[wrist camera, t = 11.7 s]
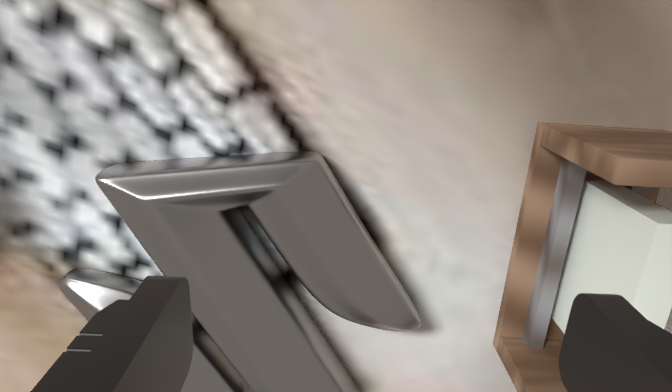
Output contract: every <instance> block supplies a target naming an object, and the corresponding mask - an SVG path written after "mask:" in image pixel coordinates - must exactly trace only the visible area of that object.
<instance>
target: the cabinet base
mask: <svg viewBox="0 0 672 392" xmlns="http://www.w3.org/2000/svg"><path fill="white" fill-rule="evenodd" d="M584 179H586V180H602V181H609V182H611V183H612V184H614V185H622V186H624V187H626V188H628V189H630V190H631V191H633V192H635V193H637V194H639V195H641V196H643V197H645V198H647V199H649V200H651V201H653V202H654V203H655V201H656V198H657V195H658V191H659V188H672V132H670V131H663V130H647V129H631V128H616V127H600V126H585V125H569V124H553V123H538V126H537V131H536V136H535V141H534V146H533V150H532V155H531V160H530V165H529V170H528V175H527V180H526V185H525V190H524V195H523V199H522V204H521V209H520V214H519V219H518V224H517V229H516V234H515V239H514V244H513V248H512V253H511V258H510V263H509V268H508V273H507V278H506V283H505V288H504V293H503V297H502V302H501V307H500V312H499V317H498V322H497V327H496V332H495V337H494V342H493V345H494V347H495V349H496V351H497V353H498V354H499V356H500V358H501V360H502V362H503V364H504V366H505V368H506V370H507V372H508V374H509V376H510V378H511V380H512V382H513V384H514V386H515V388H516V389H517V391H518V392H568V391H567V390H566V388H565V386H564V384H563V382H562V379H561V376H560V371H559V354H560V350H561V346H562V342H563V338H564V333H563V332H562V330H561V329H560V328H559V326H558V325H557V324H556V322H555V321H554V320H553V319H552V317H551V314H552V310H553V305H554V301H555V297H556V293H557V289H558V285H559V281H560V277H561V273H562V269H563V265H564V261H565V257H566V253H567V249H568V244H569V240H570V236H571V232H572V228H573V224H574V220H575V216H576V212H577V208H578V204H579V200H580V196H581V192H582V188H583V183H584Z"/></svg>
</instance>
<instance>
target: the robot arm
mask: <svg viewBox="0 0 672 392" xmlns="http://www.w3.org/2000/svg"><path fill="white" fill-rule="evenodd" d="M192 355H193V329H192V315H191V301H190V288H189V282H188V280H187V278H186V277H170V276H147V277H146V278H145V279H144V280H143V282H142V283H141V284H140V286H139V287H138V288H137V290H136V291H135V292H134V294H133V295H132V296H131V298H130V299H129V300H123V299H118V300H116V301H115V302H113V303H112V304H110V305H108V306H107V307H105V308H104V309H102V310H101V311H99V312H97V313H96V314H95V315H94V316H93V317H92V318H91V319H90V321H89V322H88V323H87V324H86V325H85V327H84V328H83V329H82V330H81V332H80V335H79V336H76V338H75V339H74V340H73V341H72V342H71V344H70V345H69V346H68V347H67V351H66V352H63V353H62V354H61V356H60V357H59V358H58V359H57V361H56V362H55V363H54V364H53V365H52V367H51V368H50V369H49V370H48V371H47V373H46V374H45V375H44V376H43V377H42V379H41V380H40V381H39V382H38V383H37V385H36V386H35V387H34V388H33V390H32V391H31V392H180V391H181V389H182V387H183V384H184V382H185V379H186V377H187V375H188V372H189V369H190V365H191V361H192ZM559 371H560V376H561V379H562V382H563V384H564V386H565V388H566V390H567V391H568V392H672V334H671V333H669V332H667V331H666V330H664V329H662V328H661V327H659V326H657V325H656V324H654V323H652V322H651V321H649V320H647V319H646V318H645V317H644V316H643V315H642V314H641V313H640V312H639V311H638V310H637V309H635V308H634V307H633V306H632V305H631V304H630V303H629V302H628V301H627V300H626V299H625V298H624V297H622V296H621V295H617V294H593V293H580V294H578V295H577V296H576V297H575V298H574V300H573V303H572V307H571V311H570V314H569V318H568V322H567V326H566V330H565V334H564V338H563V342H562V346H561V350H560V354H559Z"/></svg>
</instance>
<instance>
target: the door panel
mask: <svg viewBox="0 0 672 392" xmlns="http://www.w3.org/2000/svg"><path fill="white" fill-rule="evenodd" d="M580 293H593V294H617V295H621V296H622V297H624V298H625V299H626V300H627V301H628V302H629V303H630V304H631V305H632V306H633V307H634V308H635V309H637V310H638V311H639V312H640V313H641V314H642V315H643V316H644V317H645V318H646V319H647V320H649V321H651V322H652V323H654V324H656V325H657V326H659V327H661V328H662V329H664V328H665V325H666V323H667V320H668V317H669V314H670V311H671V308H672V211H670V210H668V209H666V208H664V207H662V206H660V205H658V204H656V203H654V202H653V201H651V200H649V199H647V198H645V197H643V196H641V195H639V194H637V193H635V192H633V191H631V190H630V189H628V188H626V187H624V186H622V185H614V184H612V183H611V182H609V181H602V180H586V179H584V183H583V188H582V192H581V196H580V200H579V204H578V208H577V212H576V216H575V220H574V224H573V228H572V232H571V236H570V240H569V244H568V249H567V253H566V257H565V261H564V265H563V269H562V273H561V277H560V281H559V285H558V289H557V293H556V297H555V301H554V305H553V310H552V314H551V317H552V319H553V320H554V321H555V322H556V324H557V325H558V326H559V328H560V329H561V330H562V332H563V333H564V334H565V330H566V326H567V322H568V318H569V314H570V311H571V307H572V303H573V300H574V298H575V297H576V296H577V295H578V294H580Z"/></svg>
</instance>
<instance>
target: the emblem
mask: <svg viewBox="0 0 672 392" xmlns="http://www.w3.org/2000/svg"><path fill="white" fill-rule="evenodd" d="M95 180H96V182H97V184H98V186H99V187H100V189H101V190H102V192H103V193H104V194H105V196H106V197H107V198H108V200H109V201H110V203H111V204H112V205H113V207H114V208H115V209H116V211H117V212H118V214H119V215H120V216H121V218H122V219H123V220H124V222H125V223H126V224H127V226H128V227H129V229H130V230H131V231H132V233H133V234H134V235H135V237H136V238H137V239H138V241H139V242H140V244H141V245H142V246H143V248H144V249H145V250H146V252H147V253H148V254H149V256H150V257H151V259H152V260H153V261H154V263H155V264H156V265H157V267H158V268H159V269H160V271H161V272H162V273H163V275H164V276H170V277H186V278H187V280H188V282H189V288H190V301H191V315H192V329H193V355H192V361H191V365H190V369H189V372H188V375H187V377H186V379H185V382H184V384H183V387H182V389H181V391H180V392H360V391H359V389H358V387H357V386H356V384H355V383H354V381H353V380H352V378H351V377H350V375H349V374H348V372H347V371H346V369H345V368H344V366H343V365H342V363H341V362H340V360H339V359H338V357H337V356H336V354H335V353H334V351H333V350H332V348H331V347H330V345H329V344H328V342H327V341H326V339H325V338H324V336H323V335H322V333H321V332H320V330H319V329H318V327H317V326H316V324H315V323H314V321H313V320H312V318H311V317H310V315H309V314H308V312H307V311H306V309H305V308H304V306H303V305H302V303H301V302H300V300H299V299H298V297H297V296H296V294H295V293H294V291H293V290H292V288H291V287H290V285H289V284H288V282H287V281H286V279H285V278H284V276H283V275H282V273H281V272H280V270H279V269H278V268H277V266H276V265H275V263H274V262H273V260H272V259H271V257H270V256H269V254H268V253H267V251H266V250H265V248H264V247H263V245H262V244H261V242H260V241H259V239H258V238H257V236H256V235H255V233H254V232H253V230H252V229H251V227H250V226H249V224H248V223H247V222H246V220H245V219H244V217H243V216H242V214H241V213H240V211H239V210H238V207H242V206H247V207H248V208H249V210H250V211H251V213H252V214H253V216H254V217H255V219H256V220H257V222H258V223H259V224H260V226H261V227H262V229H263V230H264V232H265V233H266V235H267V236H268V238H269V239H270V241H271V242H272V243H273V245H274V246H275V248H276V249H277V251H278V252H279V254H280V255H281V256H282V258H283V259H284V261H285V262H286V263H287V265H288V266H289V267H290V269H291V270H292V271H293V273H294V274H295V275H296V277H297V278H298V279H299V280H300V282H301V283H302V284H303V285H304V287H305V288H306V289H307V290H308V291H309V292H310V293H311V295H312V296H313V297H314V298H315V299H316V300H317V301H318V302H319V303H321V304H322V305H323V306H324V307H325V308H327V309H328V310H329V311H331V312H333V313H334V314H336V315H338V316H340V317H342V318H344V319H346V320H349V321H352V322H354V323H358V324H361V325H365V326H369V327H373V328H378V329H384V330H391V331H413V330H416V329H418V328H419V327H420V326H421V320H420V317H419V315H418V312H417V310H416V308H415V306H414V304H413V303H412V301H411V299H410V298H409V296H408V294H407V293H406V291H405V289H404V288H403V286H402V285H401V283H400V281H399V280H398V278H397V277H396V275H395V274H394V272H393V271H392V269H391V267H390V266H389V264H388V263H387V261H386V260H385V258H384V256H383V255H382V253H381V252H380V250H379V248H378V247H377V245H376V244H375V242H374V240H373V239H372V237H371V236H370V234H369V232H368V231H367V229H366V228H365V226H364V224H363V223H362V221H361V219H360V218H359V216H358V214H357V213H356V211H355V209H354V208H353V206H352V205H351V203H350V201H349V200H348V198H347V196H346V195H345V193H344V191H343V190H342V188H341V186H340V185H339V183H338V181H337V180H336V178H335V176H334V175H333V173H332V171H331V170H330V168H329V166H328V165H327V163H326V161H325V160H324V158H323V157H322V156H321V154H320V153H318V152H315V151H298V152H281V153H265V154H249V155H233V156H217V157H201V158H185V159H169V160H154V161H139V162H125V163H118V164H115V165H112V166H110V167H108V168H106V169H104V170H103V171H101V172H100V173H98V174H97V175H96V177H95ZM142 282H143V281H140V280H136V279H133V278H129V277H126V276H122V275H117V274H113V273H108V272H103V271H98V270H92V269H81V268H80V269H73V270H71V271H70V272H68V273H67V274H66V275H65V276H64V277H62V278H61V280H60V281H59V287H60V289H61V291H62V292H63V293H64V295H65V296H66V297H67V298H68V299H69V300H70V302H71V303H72V304H73V305H74V306H75V307H76V308H77V309H78V310H79V311H80V312H81V313H82V315H83V316H84V317H85V318H86V319H87V320H88V321H90V319H91V318H92V317H93V316H94V315H95V314H96V313H97V312H99V311H101V310H102V309H104V308H105V307H107V306H108V305H110V304H112V303H113V302H115V301H116V300H118V299H123V300H129V299H130V298H131V296H132V295H133V294H134V292H135V291H136V290H137V288H138V287H139V286H140V284H141V283H142Z"/></svg>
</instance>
